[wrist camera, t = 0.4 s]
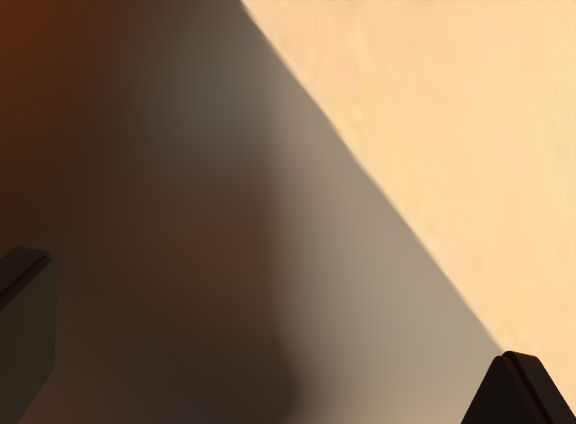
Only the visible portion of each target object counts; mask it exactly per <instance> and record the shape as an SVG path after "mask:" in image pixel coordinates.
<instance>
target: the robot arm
mask: <svg viewBox="0 0 576 424" xmlns="http://www.w3.org/2000/svg"><path fill="white" fill-rule="evenodd" d="M57 268H58V267H57V262H56V261H55V260H52V259H50V255H49V253H48V252H47V251H44V250H40V249H35V248H30V247H25V246H21V245H18V246H16V247H14V248H12V249H11V250H10V251H9V252H8V253H6V254H5V255H4V256H3V257H2V258H0V424H17V423H18V422H19V420H20V419H21V418H22V416H23V415H24V413H25V412H26V410H27V409H28V407H29V406H30V405H31V403H32V402H33V400H34V398H35V397H36V396H37V395H38V393H39V392H40V390H41V389H42V387H43V386H44V384H45V383H46V382H47V380H48V379H49V377H50V375H51V372H52V370H53V367H54V363H55V337H56V301H57ZM461 424H576V417H575V416H574V414H573V413H572V411H571V409H570V408H569V406H568V405H567V403H566V401H565V400H564V398H563V397H562V395H561V393H560V392H559V390H558V389H557V387H556V385H555V384H554V382H553V381H552V379H551V377H550V376H549V374H548V373H547V371H546V369H545V368H544V366H543V365H542V363H541V361H540V360H539V359H538V358H537V357H535V356H532V355H527V354H523V353H518V352H513V351H506V352H505V353H503V355H502V356H496V357H495V358H494V360H493V361H492V363H491V365H490V367H489V369H488V371H487V373H486V375H485V377H484V379H483V381H482V383H481V385H480V387H479V389H478V391H477V393H476V395H475V397H474V398H473V401H472V402H471V405H470V406H469V408H468V410H467V412H466V414H465V416H464V418H463V420H462V422H461Z"/></svg>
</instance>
